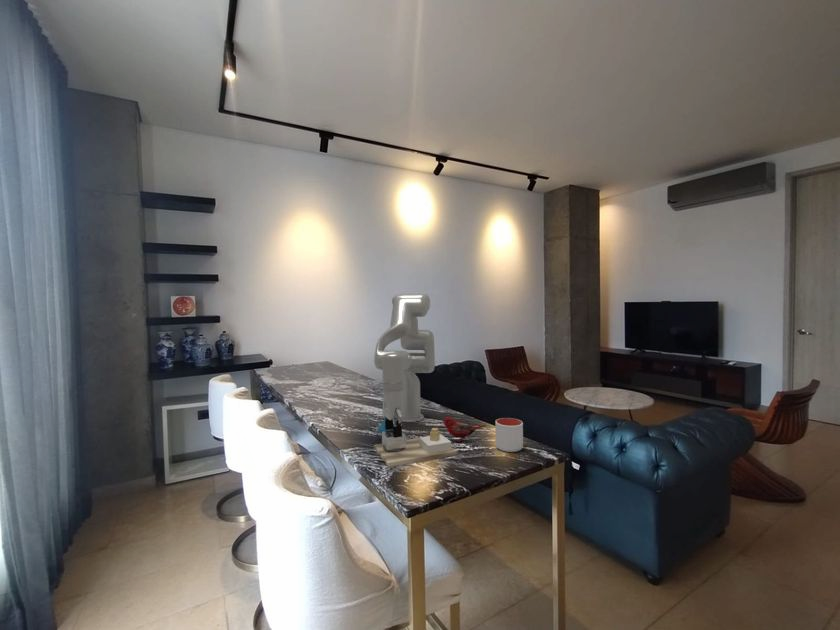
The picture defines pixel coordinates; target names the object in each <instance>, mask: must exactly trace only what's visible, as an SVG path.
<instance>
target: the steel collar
mask: <svg viewBox="0 0 840 630" xmlns="http://www.w3.org/2000/svg"><path fill="white" fill-rule="evenodd" d="M392 431H393V430H390V431H383V432H382V436H381V444H383V445H384V446H385V448H386V449H387V450H391V449H397V448H404V447H406V440H407V438H406V436H407V435H406V433H404V432H403V431H402V437H397V438H394V437H393V435H391V436H390V432H392Z"/></svg>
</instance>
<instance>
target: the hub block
mask: <svg viewBox="0 0 840 630" xmlns="http://www.w3.org/2000/svg"><path fill="white" fill-rule="evenodd" d="M430 430H431V431H430V432H429V435H428V436H422V437H421V436H420V437H418V438H419V446H420V447H421V448H423V449H424V450H425V451H426V452H427V453H428V454H432V453H438V452H444V451H449V450H451V447H452V441H451V440H449V439H448V438H446V436H444V435H443V434H441V433H440V432H441V431H440V430H439V428H438V427H432V428H431V429H430Z"/></svg>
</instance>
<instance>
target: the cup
mask: <svg viewBox="0 0 840 630" xmlns="http://www.w3.org/2000/svg"><path fill="white" fill-rule="evenodd" d="M523 427H524V423H523V421H522V420H520V419H517V418H511V417H501V418H498V419H495V446H496V448H497V449H498V450H500V451H503V452H507V453H517V452H519V451H521V450H523V447H524V428H523Z"/></svg>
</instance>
